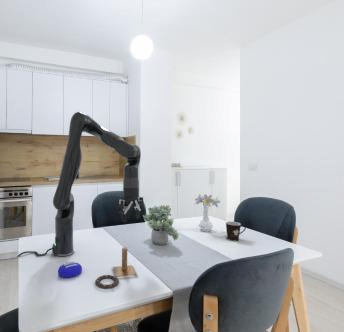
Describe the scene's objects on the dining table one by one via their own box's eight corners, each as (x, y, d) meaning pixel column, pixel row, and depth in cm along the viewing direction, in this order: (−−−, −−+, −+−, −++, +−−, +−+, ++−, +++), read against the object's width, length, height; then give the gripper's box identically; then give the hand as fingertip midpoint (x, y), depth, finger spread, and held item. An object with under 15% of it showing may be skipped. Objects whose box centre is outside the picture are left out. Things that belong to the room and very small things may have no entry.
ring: (96, 292, 94) (96, 287, 94) (94, 279, 103) (94, 275, 103) (121, 289, 96) (121, 284, 96) (116, 277, 105) (116, 273, 105)
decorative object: (78, 254, 113) (84, 266, 104) (79, 265, 114) (84, 278, 105) (55, 259, 109) (59, 271, 100) (56, 270, 110) (59, 284, 101)
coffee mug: (225, 240, 150) (225, 224, 150) (225, 236, 158) (225, 220, 158) (246, 243, 146) (247, 226, 145) (245, 238, 154) (245, 222, 153)
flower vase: (222, 230, 171) (222, 194, 169) (204, 234, 161) (205, 197, 159) (206, 225, 181) (207, 192, 180) (189, 229, 171) (190, 194, 170)
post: (116, 279, 104) (116, 253, 103) (113, 269, 113) (112, 245, 112) (136, 277, 106) (137, 251, 105) (131, 267, 114) (131, 244, 114)
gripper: (136, 184, 123) (136, 216, 124) (114, 186, 114) (114, 220, 115) (147, 185, 117) (147, 219, 118) (124, 188, 108) (124, 224, 109)
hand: (131, 219), depth 116 cm, fingers open, 8 cm apart
